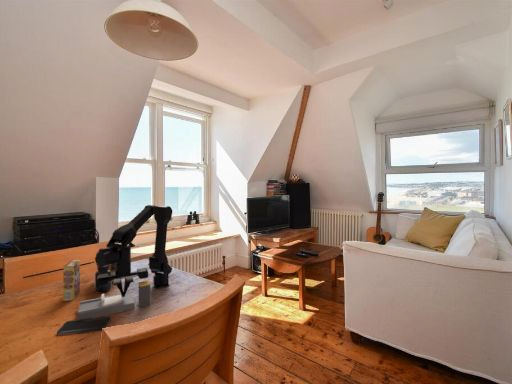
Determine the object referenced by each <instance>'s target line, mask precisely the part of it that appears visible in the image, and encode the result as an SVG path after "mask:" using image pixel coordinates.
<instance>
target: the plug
mask: <svg viewBox="0 0 512 384" xmlns="http://www.w3.org/2000/svg"><path fill="white" fill-rule="evenodd" d="M138 305H139V308H142V307H146V306H150V305H151V283H150V281H149V280H144V281H139V282H138Z"/></svg>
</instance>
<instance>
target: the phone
mask: <svg viewBox="0 0 512 384" xmlns="http://www.w3.org/2000/svg"><path fill="white" fill-rule="evenodd" d="M111 321H112V317H111V316H99V317H95V318H90V319H81V320H78V319H73V320H72V319H71V320H67V321H65V322H64V323H63V324H62V326H61V327H60V328H58V330H57V331H56V335H57V336H62V335H63V336H64V335H65V336H66V335H71V334H72V335H73V334H82V333H89V332H100V331H103V330H102V328H105V327H107V328H108V326H109V324H110V323H111Z"/></svg>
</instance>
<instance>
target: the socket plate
mask: <svg viewBox="0 0 512 384" xmlns="http://www.w3.org/2000/svg"><path fill="white" fill-rule="evenodd" d="M117 295H121V293H118V294H113V295H107V296H104V298H107V297H112V296H117ZM101 299H102V296H100V297H97V298H92V299H87V300H86V299H85V300H82V301H79V306H78V311H77V320H81V319H91V318H100V317H105V316H107V315H112V314H117V313H121V312H126V311H130V310H134V309H135V306H136V305H135V299H134V295H133V292H128V293H127V292H126V294H125V297H122V295H121V300H122V302H121V303H116V304H111V305H106V306H102V303H101ZM135 310H136V309H135Z"/></svg>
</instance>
